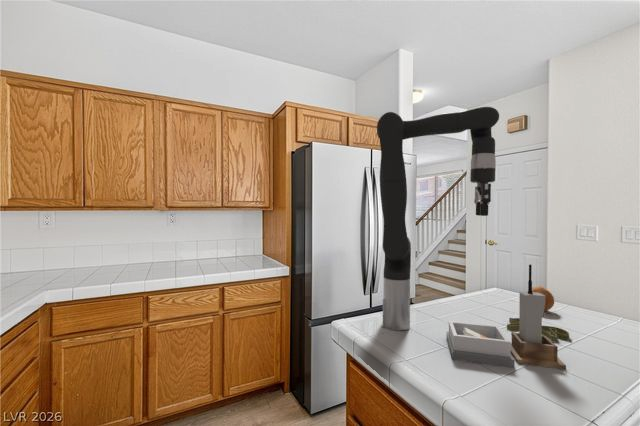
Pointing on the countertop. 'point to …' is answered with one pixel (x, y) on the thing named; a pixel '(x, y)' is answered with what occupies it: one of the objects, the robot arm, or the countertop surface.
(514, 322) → the cookie cutter
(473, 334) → the plate
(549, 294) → the onion
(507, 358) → the box
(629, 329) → the countertop surface
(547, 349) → the stand
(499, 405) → the countertop surface
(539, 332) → the vintage mobile phone
